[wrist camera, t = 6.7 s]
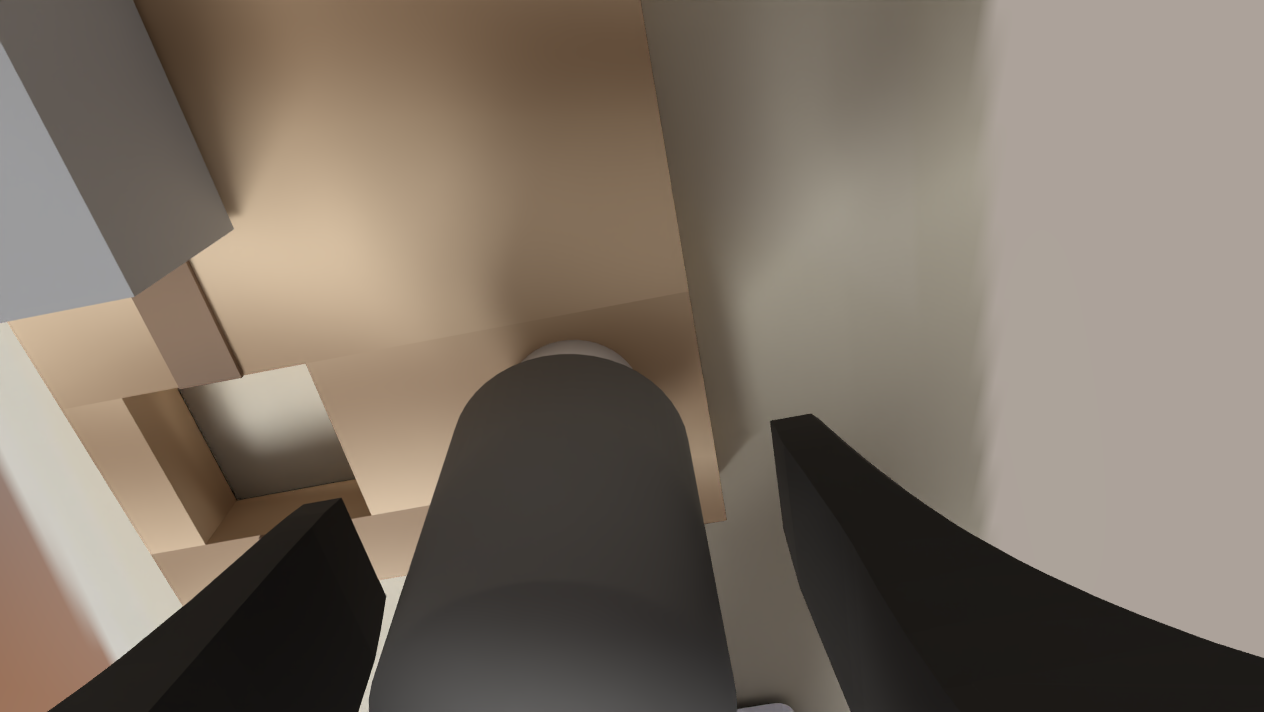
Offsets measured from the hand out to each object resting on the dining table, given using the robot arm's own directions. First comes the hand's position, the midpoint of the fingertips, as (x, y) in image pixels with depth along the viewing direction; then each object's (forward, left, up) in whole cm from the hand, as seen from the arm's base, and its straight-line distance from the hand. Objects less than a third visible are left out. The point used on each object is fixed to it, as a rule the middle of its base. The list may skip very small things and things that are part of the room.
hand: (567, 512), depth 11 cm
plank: (+4, +4, -5) cm, 7 cm away
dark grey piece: (0, 0, -3) cm, 3 cm away
